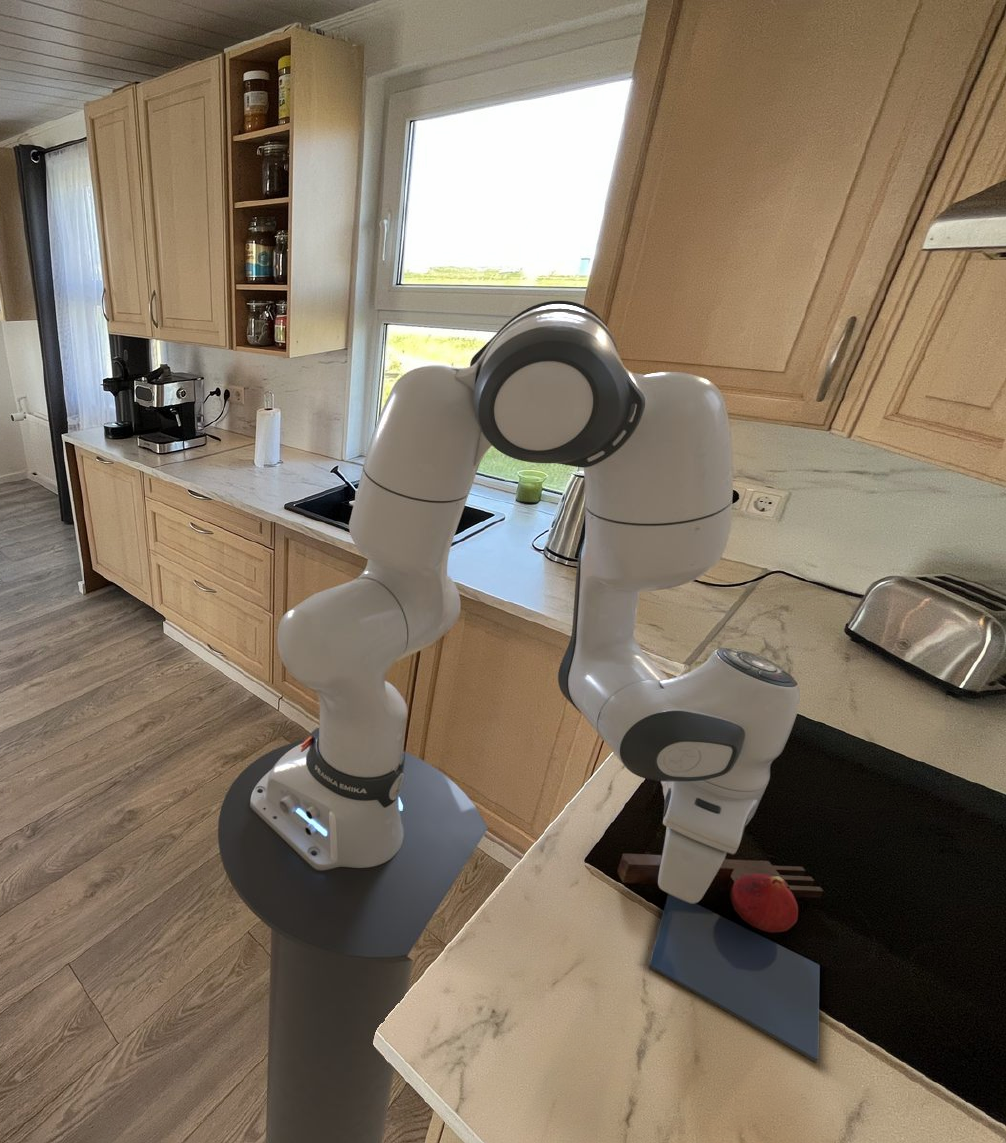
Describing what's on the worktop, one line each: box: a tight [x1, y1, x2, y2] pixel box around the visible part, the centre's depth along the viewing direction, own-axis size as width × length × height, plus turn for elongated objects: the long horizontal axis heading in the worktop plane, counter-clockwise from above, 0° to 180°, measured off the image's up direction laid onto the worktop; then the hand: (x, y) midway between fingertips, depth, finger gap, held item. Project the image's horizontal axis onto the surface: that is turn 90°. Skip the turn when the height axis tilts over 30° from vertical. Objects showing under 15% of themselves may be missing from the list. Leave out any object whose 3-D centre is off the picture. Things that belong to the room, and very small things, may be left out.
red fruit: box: [729, 873, 799, 934], centre depth 70 cm, size 6×6×8 cm
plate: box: [648, 893, 821, 1063], centre depth 67 cm, size 14×12×1 cm
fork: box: [616, 853, 824, 899], centre depth 75 cm, size 22×4×3 cm, turn 86°
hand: (675, 869), depth 75 cm, fingers closed on fork, 3 cm apart
